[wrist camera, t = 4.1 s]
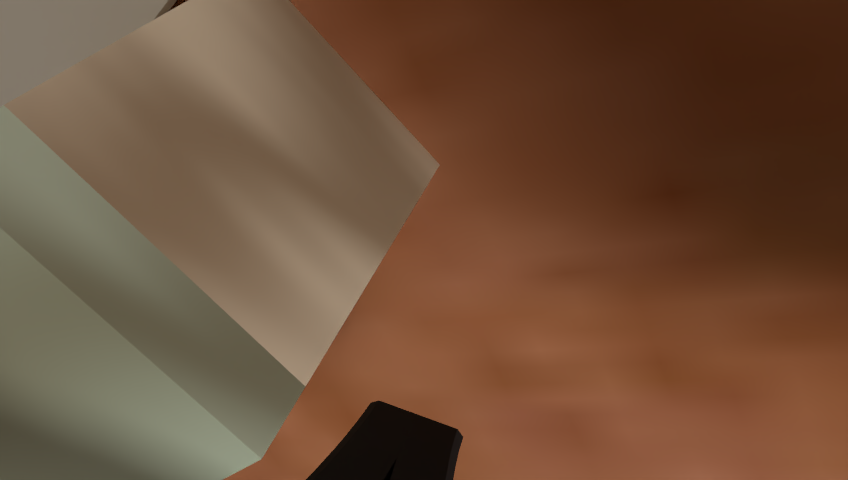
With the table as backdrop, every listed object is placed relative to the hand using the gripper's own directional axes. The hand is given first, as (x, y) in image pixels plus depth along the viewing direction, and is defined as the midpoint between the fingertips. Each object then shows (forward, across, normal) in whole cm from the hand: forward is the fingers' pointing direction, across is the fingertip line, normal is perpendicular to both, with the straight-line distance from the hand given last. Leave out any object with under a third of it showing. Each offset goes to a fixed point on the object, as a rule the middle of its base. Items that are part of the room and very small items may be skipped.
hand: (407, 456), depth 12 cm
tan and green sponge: (+3, +4, -3) cm, 6 cm away
